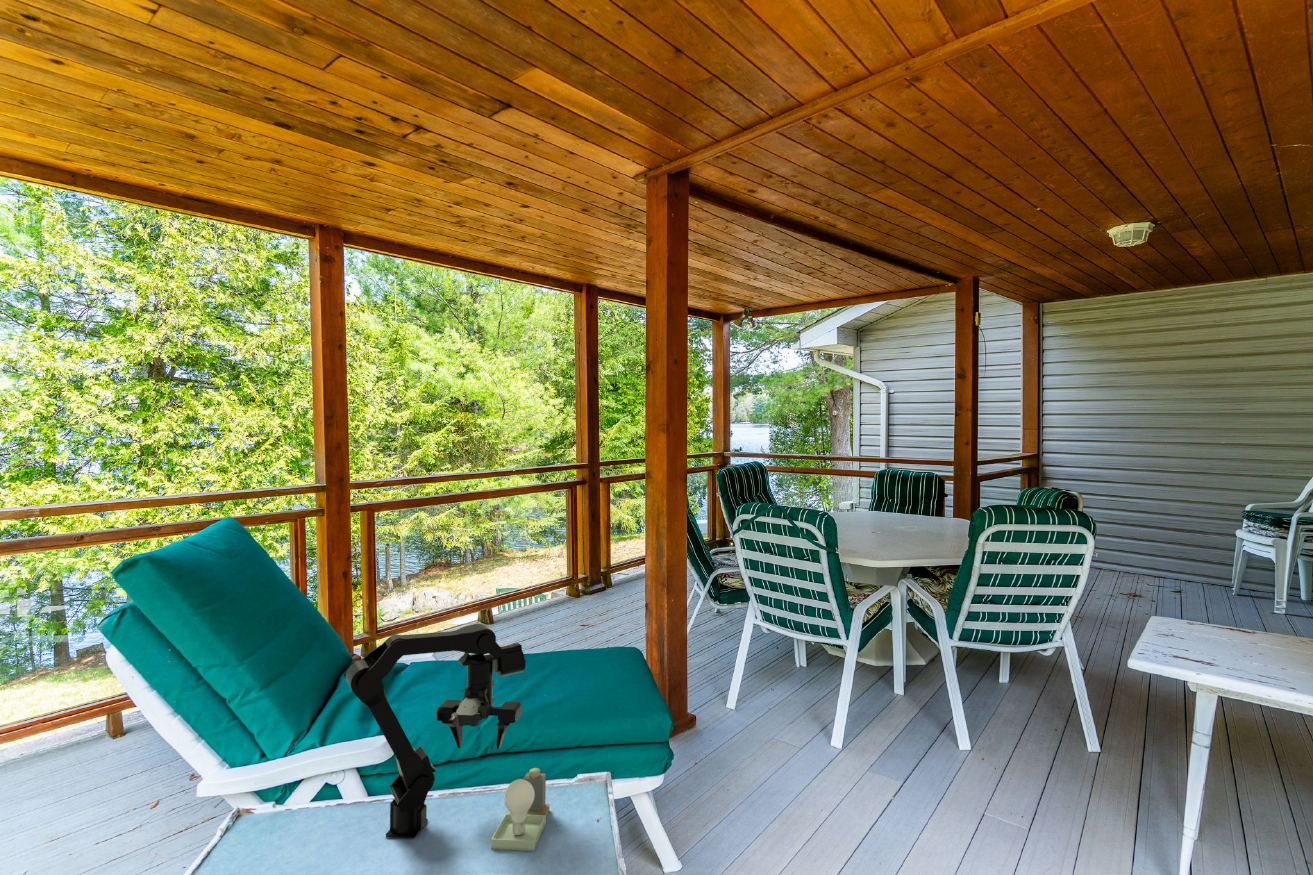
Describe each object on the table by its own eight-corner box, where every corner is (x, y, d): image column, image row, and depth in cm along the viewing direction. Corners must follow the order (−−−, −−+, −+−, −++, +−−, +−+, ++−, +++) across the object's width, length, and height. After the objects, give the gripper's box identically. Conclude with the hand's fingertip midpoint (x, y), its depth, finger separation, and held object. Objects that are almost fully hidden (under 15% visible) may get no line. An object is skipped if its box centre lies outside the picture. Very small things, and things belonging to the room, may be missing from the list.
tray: (490, 849, 123) (490, 839, 123) (505, 822, 132) (505, 813, 132) (534, 851, 123) (534, 841, 123) (545, 824, 132) (545, 815, 132)
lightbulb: (526, 845, 124) (527, 790, 124) (498, 841, 125) (499, 787, 125) (538, 826, 130) (539, 775, 130) (511, 823, 131) (512, 771, 132)
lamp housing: (518, 818, 134) (519, 774, 134) (523, 809, 137) (524, 766, 138) (545, 819, 133) (545, 775, 134) (549, 810, 137) (549, 767, 137)
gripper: (425, 692, 133) (424, 764, 132) (507, 695, 131) (507, 767, 131) (446, 674, 144) (445, 740, 143) (522, 676, 142) (522, 743, 142)
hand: (479, 748), depth 139 cm, fingers open, 9 cm apart
